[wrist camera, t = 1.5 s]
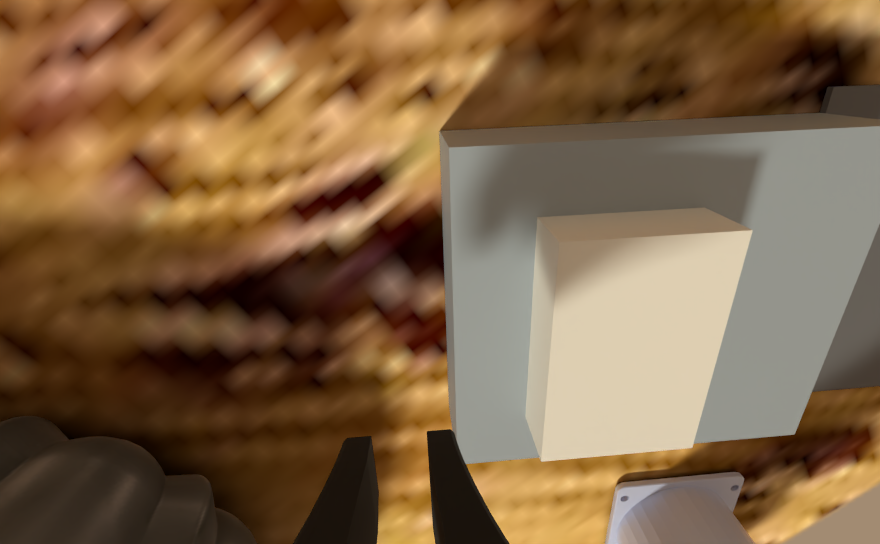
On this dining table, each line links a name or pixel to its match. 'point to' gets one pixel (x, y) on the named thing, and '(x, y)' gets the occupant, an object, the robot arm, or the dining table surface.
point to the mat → (876, 290)
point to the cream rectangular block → (627, 328)
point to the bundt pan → (100, 493)
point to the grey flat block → (645, 189)
